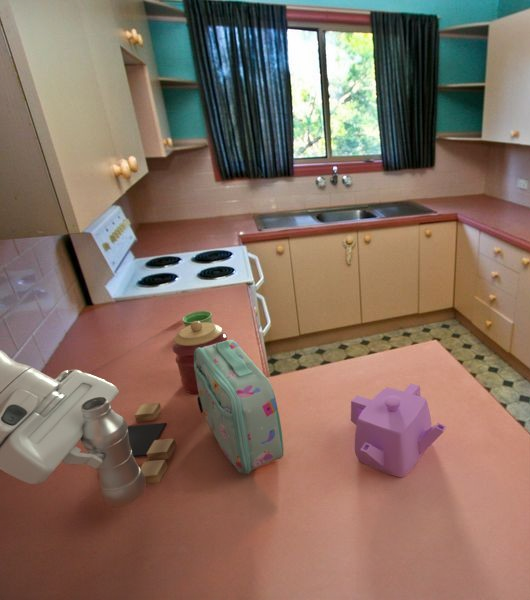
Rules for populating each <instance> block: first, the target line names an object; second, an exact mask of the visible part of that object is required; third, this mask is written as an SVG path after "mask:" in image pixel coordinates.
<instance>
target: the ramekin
mask: <svg viewBox="0 0 530 600" xmlns="http://www.w3.org/2000/svg"><path fill="white" fill-rule="evenodd" d="M212 318H213V314H212V312H211V311H208V310H197V311H192V312H190V313H187V314H185V315H184V316H183V317H182V319H181V320H182V323H183V324H184V328H185V327H187V326H189V325H191V323H192V322H194V321H199V322H200V323H203V322H207V323H212V324H213V319H212Z"/></svg>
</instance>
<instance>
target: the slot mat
mask: <svg viewBox="0 0 530 600" xmlns="http://www.w3.org/2000/svg"><path fill="white" fill-rule="evenodd" d="M166 426H167V422H159V423H147V424H137V425H128V435H129V442H130V446H131V450H132V454H133V456H134V458H139V457H140V458H141V457H148V456H147V452H148V450H149V449H150V447H151V445H152V444H153V442H154V440H159V438H160V437H161V435H162V433H163V431H164V430H165V428H166Z"/></svg>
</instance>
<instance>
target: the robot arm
mask: <svg viewBox="0 0 530 600" xmlns="http://www.w3.org/2000/svg"><path fill="white" fill-rule="evenodd" d="M119 393H120V391H119V389H118V387H117V386H116V385H115V384H113V383H111V382H109V381H107V380H105V379H103V378H101V377H98V376H96V375H93V374H91V373H88V372H84V371H81V370H79V369H68V370H67V369H65V370H62V371H60V373H59V374H58V376H56V377H55V378H53V377H51V376H49V375H47V374H45V373H43V372H41V371H40V370H38V369H36V368H34V367H33V366H31V365H28V364H24V363H20V362H17V361H15V360H14V359H12V358H11V357H9V356H8V355H7V353H6V352H5V351H3V350H1V349H0V470H1V471H3V473H6V474H8V475H9V476H11V477H13V478H15V479H18V480H20V481H22V482H24V483H26V484H30V485H38V484H44V483H45V482H46V481H47V480H48V478H49V477H50V476H51V475H52V474H53V473H54V471H55V470H56V469H57V468H58V466H59V465H60V464H61V463H62V462H63V463H65V464H67V465H70V466H73V465H75V466H76V465H77V466H78V465H80V466H82V465H85V466H88V467H90V468H92V469H97V468H98V467H99V466H100V464H101V463H102V462H103V460H104V459H105V457H106V456H105V455H104V454H101V453H100V452H97V451H95V452H94V454H90V453H88V452H82V449H81V448H79V447H77V446H76V445H77V444H78V443H79V441H81V440H80V439H81V438H82V436H83V425H84V423H85V421H86V420H84V419H83V416H82V411H81V405H82V404H83V403H84V402H86V401H87V400H89V399H92V398H95V397H106V398H107V399H108V402H109V404H110V405H111V403H112V402H113V400H114V399H115V398H116V397H117V395H118V394H119ZM111 411H112V412H115V410H114V409H113V408H111ZM128 426H129V425H128V424H127V427H128Z"/></svg>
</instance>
